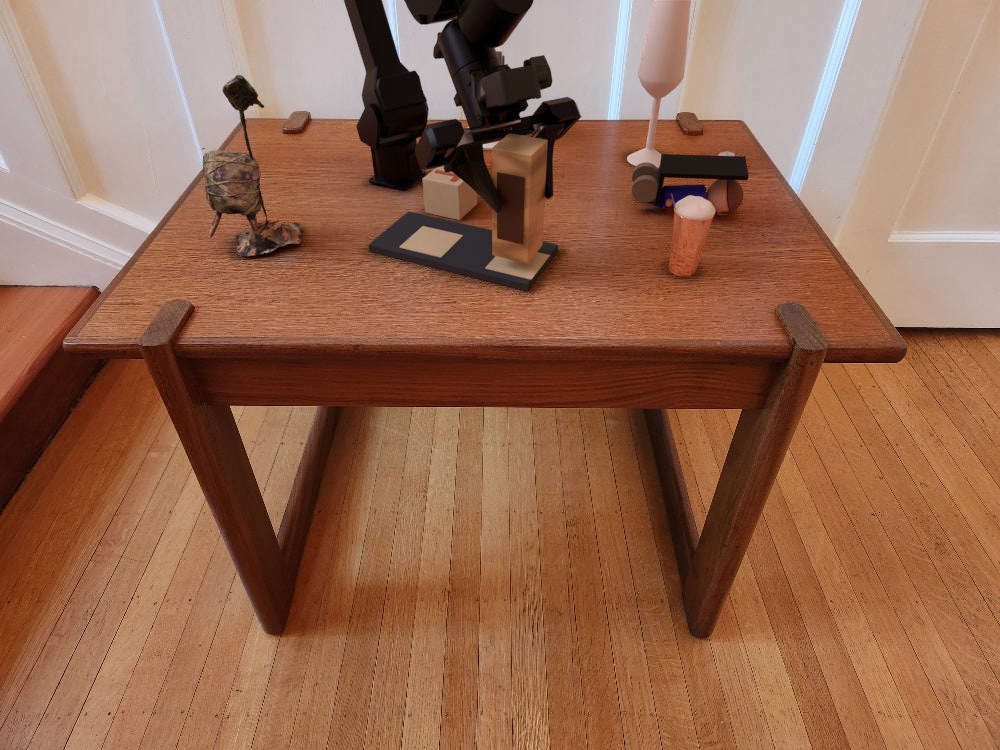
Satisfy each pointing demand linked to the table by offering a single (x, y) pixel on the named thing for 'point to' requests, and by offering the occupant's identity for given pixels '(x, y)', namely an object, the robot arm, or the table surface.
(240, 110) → the bird sculpture
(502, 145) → the maple letter block
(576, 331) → the table surface
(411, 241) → the word mat
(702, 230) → the milkshake
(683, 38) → the champagne flute
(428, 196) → the cream letter cube
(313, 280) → the table surface
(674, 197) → the toy vehicle
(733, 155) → the game die
